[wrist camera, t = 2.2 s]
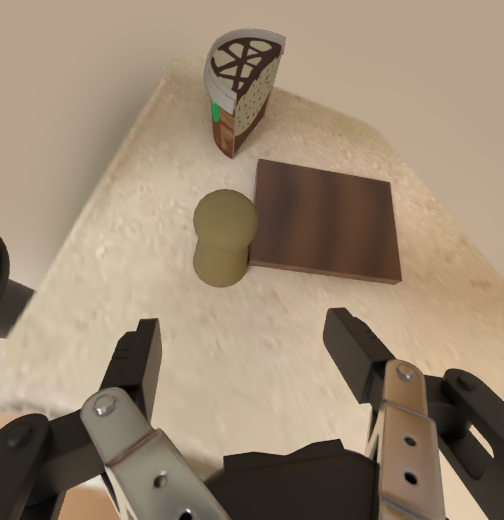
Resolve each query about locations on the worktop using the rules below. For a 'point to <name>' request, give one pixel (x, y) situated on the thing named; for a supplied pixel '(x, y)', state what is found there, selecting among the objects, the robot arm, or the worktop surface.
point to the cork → (223, 236)
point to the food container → (241, 83)
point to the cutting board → (324, 224)
